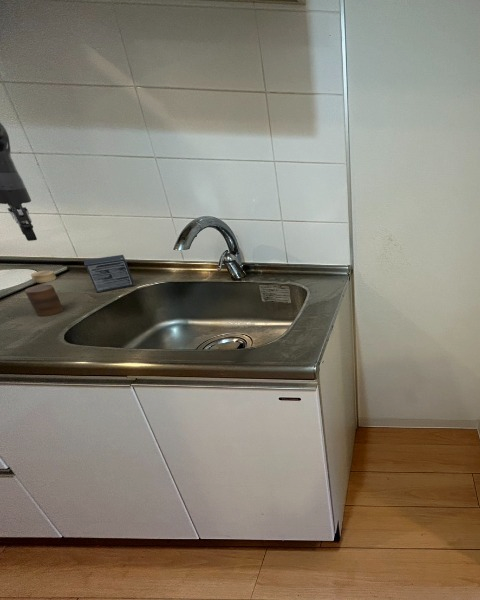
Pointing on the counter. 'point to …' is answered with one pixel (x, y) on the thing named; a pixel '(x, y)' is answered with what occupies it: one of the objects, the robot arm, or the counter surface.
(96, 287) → the small box
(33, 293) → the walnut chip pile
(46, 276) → the beige short cylinder
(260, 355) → the counter surface
